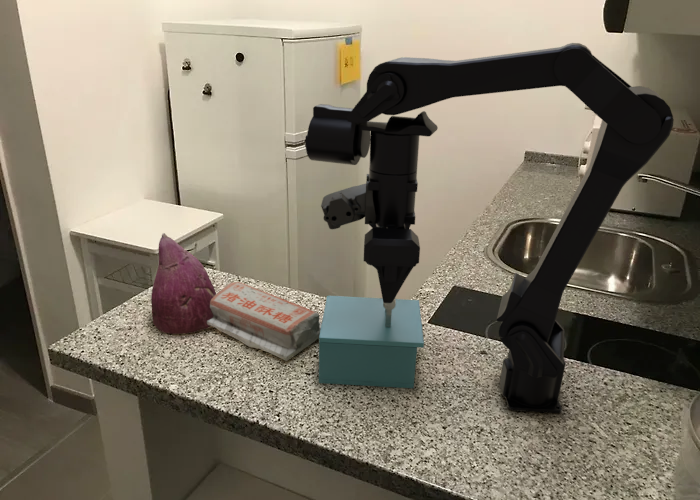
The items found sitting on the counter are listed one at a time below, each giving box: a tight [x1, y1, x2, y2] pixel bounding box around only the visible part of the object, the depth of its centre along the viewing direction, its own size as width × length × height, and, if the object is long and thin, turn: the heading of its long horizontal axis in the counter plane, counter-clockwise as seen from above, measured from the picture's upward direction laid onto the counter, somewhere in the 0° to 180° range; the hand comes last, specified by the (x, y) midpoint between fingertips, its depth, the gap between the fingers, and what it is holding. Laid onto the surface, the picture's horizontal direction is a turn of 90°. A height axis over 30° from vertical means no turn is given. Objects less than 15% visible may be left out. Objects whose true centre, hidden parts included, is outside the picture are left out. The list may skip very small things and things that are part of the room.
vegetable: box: [150, 232, 217, 335], centre depth 88 cm, size 10×10×15 cm
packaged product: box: [207, 281, 322, 362], centre depth 87 cm, size 18×5×10 cm
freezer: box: [318, 341, 418, 389], centre depth 80 cm, size 12×11×6 cm
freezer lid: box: [318, 295, 425, 349], centre depth 78 cm, size 13×11×5 cm
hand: (387, 285), depth 76 cm, fingers open, 9 cm apart
